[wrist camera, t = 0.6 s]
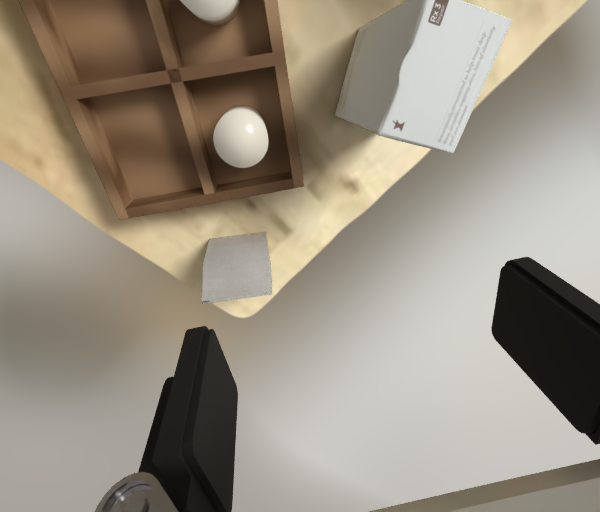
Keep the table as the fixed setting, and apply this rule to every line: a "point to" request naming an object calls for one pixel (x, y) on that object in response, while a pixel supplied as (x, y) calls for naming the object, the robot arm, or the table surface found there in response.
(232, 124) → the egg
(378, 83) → the skincare box
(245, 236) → the milk carton
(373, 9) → the table surface
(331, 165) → the table surface
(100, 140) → the rack
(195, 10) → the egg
